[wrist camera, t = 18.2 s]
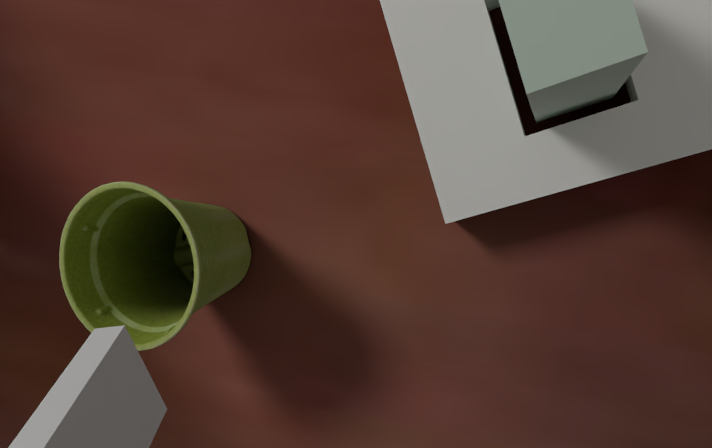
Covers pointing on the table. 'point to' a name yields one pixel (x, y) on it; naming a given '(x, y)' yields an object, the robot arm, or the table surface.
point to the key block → (573, 50)
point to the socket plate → (554, 145)
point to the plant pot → (148, 260)
